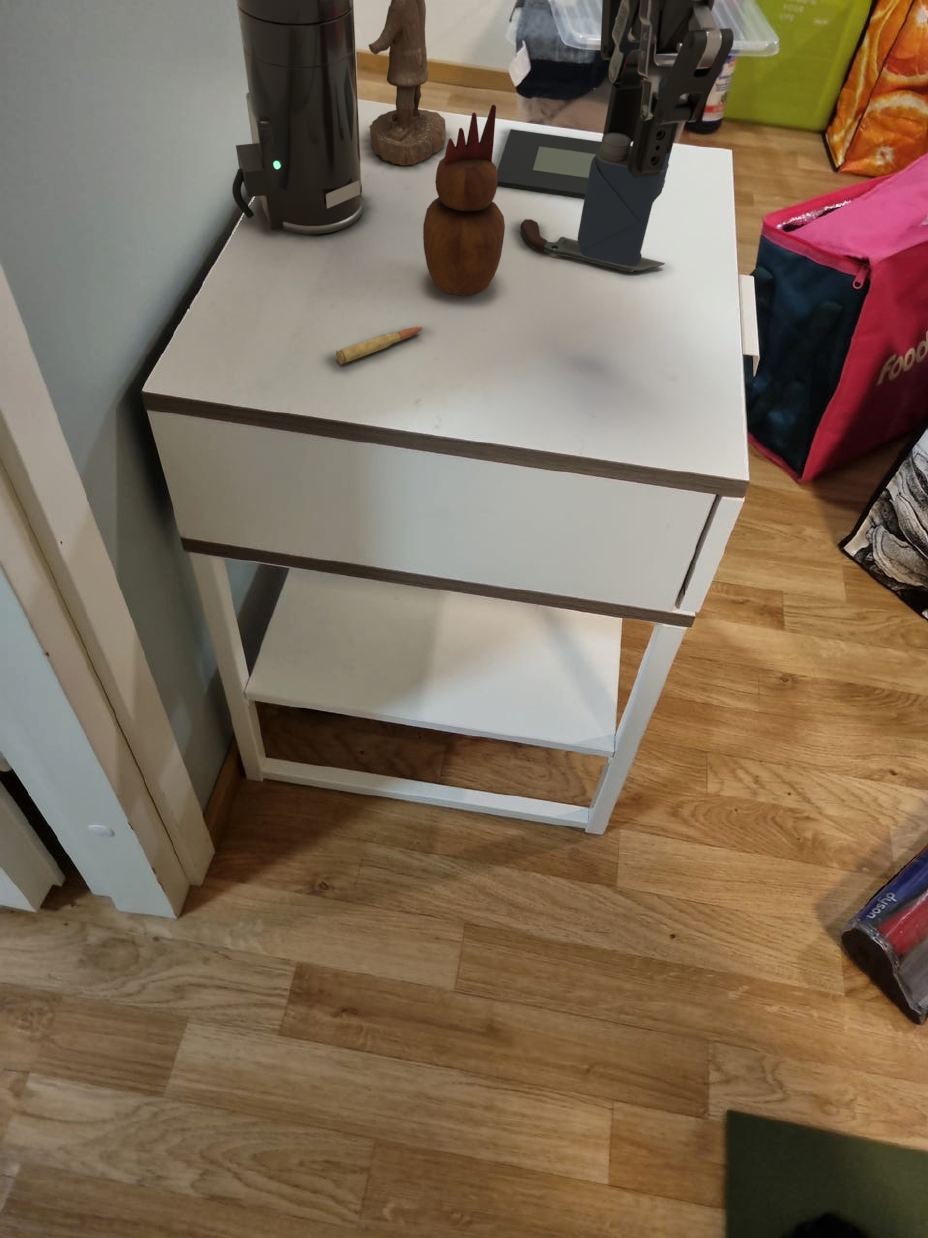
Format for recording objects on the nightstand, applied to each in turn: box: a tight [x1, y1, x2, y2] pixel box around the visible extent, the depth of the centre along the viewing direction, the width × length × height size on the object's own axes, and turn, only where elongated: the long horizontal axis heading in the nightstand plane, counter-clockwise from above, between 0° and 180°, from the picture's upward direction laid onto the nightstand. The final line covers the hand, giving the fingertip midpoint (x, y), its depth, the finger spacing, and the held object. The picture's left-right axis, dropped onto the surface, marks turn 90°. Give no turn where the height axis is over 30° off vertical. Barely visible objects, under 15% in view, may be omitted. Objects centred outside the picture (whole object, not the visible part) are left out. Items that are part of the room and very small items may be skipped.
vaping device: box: [577, 82, 680, 266], centre depth 63 cm, size 3×5×12 cm, turn 74°
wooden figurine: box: [422, 104, 506, 296], centre depth 74 cm, size 7×6×15 cm
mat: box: [496, 128, 632, 199], centre depth 93 cm, size 14×11×1 cm
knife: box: [519, 218, 665, 273], centre depth 84 cm, size 14×4×1 cm, turn 69°
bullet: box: [335, 326, 424, 365], centre depth 74 cm, size 8×1×1 cm
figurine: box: [368, 0, 447, 166], centre depth 86 cm, size 9×8×20 cm
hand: (631, 156), depth 62 cm, fingers closed on vaping device, 3 cm apart
